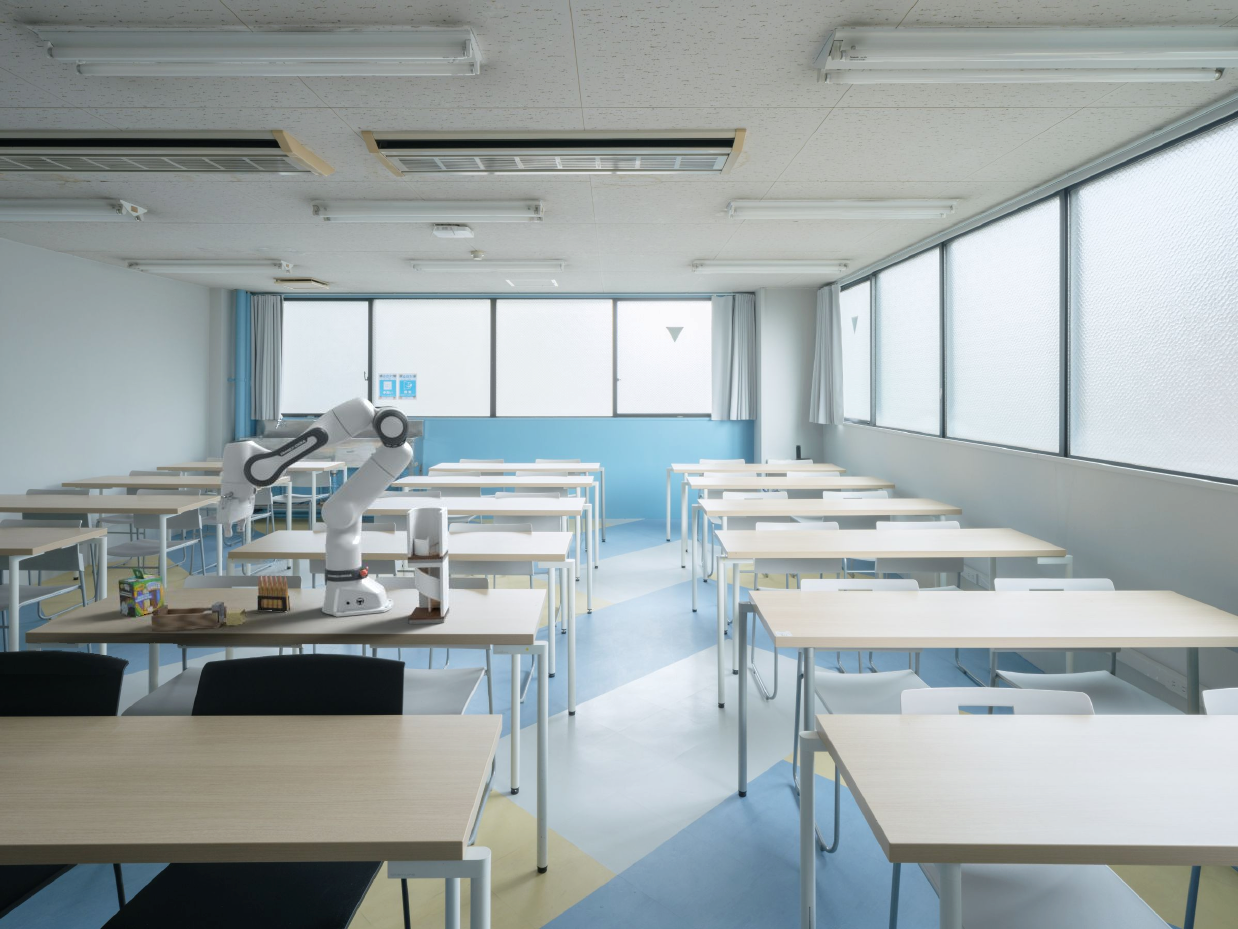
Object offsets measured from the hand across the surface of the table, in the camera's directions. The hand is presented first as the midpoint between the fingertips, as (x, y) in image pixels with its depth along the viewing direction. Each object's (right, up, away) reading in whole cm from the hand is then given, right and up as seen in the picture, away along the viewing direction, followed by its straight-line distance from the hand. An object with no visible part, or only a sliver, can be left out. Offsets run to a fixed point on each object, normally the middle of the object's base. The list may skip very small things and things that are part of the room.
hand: (234, 534), depth 215 cm
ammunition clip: (+7, -27, +12) cm, 30 cm away
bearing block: (-11, -28, -5) cm, 30 cm away
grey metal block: (-5, -27, -4) cm, 27 cm away
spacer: (+2, -28, -2) cm, 28 cm away
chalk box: (-36, -27, +9) cm, 46 cm away
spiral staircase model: (+61, -28, +4) cm, 67 cm away
